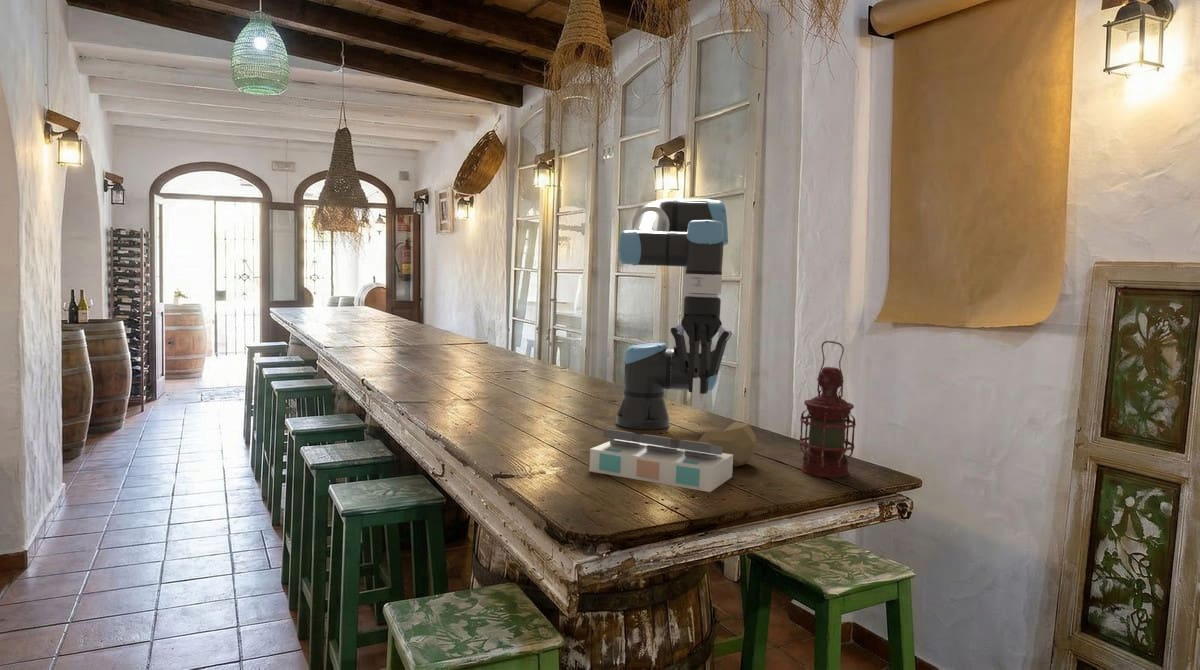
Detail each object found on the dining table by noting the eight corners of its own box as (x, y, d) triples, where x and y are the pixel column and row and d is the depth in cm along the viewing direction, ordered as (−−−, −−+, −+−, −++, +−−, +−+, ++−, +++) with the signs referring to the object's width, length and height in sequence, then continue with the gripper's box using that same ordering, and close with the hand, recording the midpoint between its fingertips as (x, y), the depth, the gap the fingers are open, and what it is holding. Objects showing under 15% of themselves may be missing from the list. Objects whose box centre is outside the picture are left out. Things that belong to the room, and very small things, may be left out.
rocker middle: (653, 444, 180) (655, 436, 180) (682, 449, 177) (684, 440, 177) (639, 442, 173) (640, 433, 173) (669, 447, 169) (670, 437, 170)
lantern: (786, 466, 186) (794, 338, 183) (829, 463, 190) (837, 338, 188) (819, 480, 175) (827, 344, 172) (864, 477, 179) (873, 344, 176)
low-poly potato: (757, 461, 192) (719, 433, 197) (774, 428, 186) (734, 400, 191) (724, 489, 181) (685, 459, 186) (740, 455, 175) (699, 425, 180)
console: (617, 458, 188) (618, 433, 187) (732, 477, 175) (733, 450, 175) (588, 471, 175) (589, 444, 175) (709, 492, 163) (711, 463, 162)
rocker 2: (691, 450, 176) (692, 441, 176) (721, 455, 172) (722, 445, 173) (678, 448, 169) (679, 439, 169) (709, 453, 165) (711, 443, 166)
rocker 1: (618, 439, 184) (619, 431, 184) (645, 443, 181) (646, 435, 181) (602, 437, 177) (604, 428, 177) (631, 441, 174) (632, 432, 174)
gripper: (666, 294, 165) (661, 407, 167) (726, 297, 159) (721, 414, 161) (680, 294, 171) (675, 402, 173) (738, 297, 165) (732, 409, 167)
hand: (697, 408), depth 167 cm, fingers closed
